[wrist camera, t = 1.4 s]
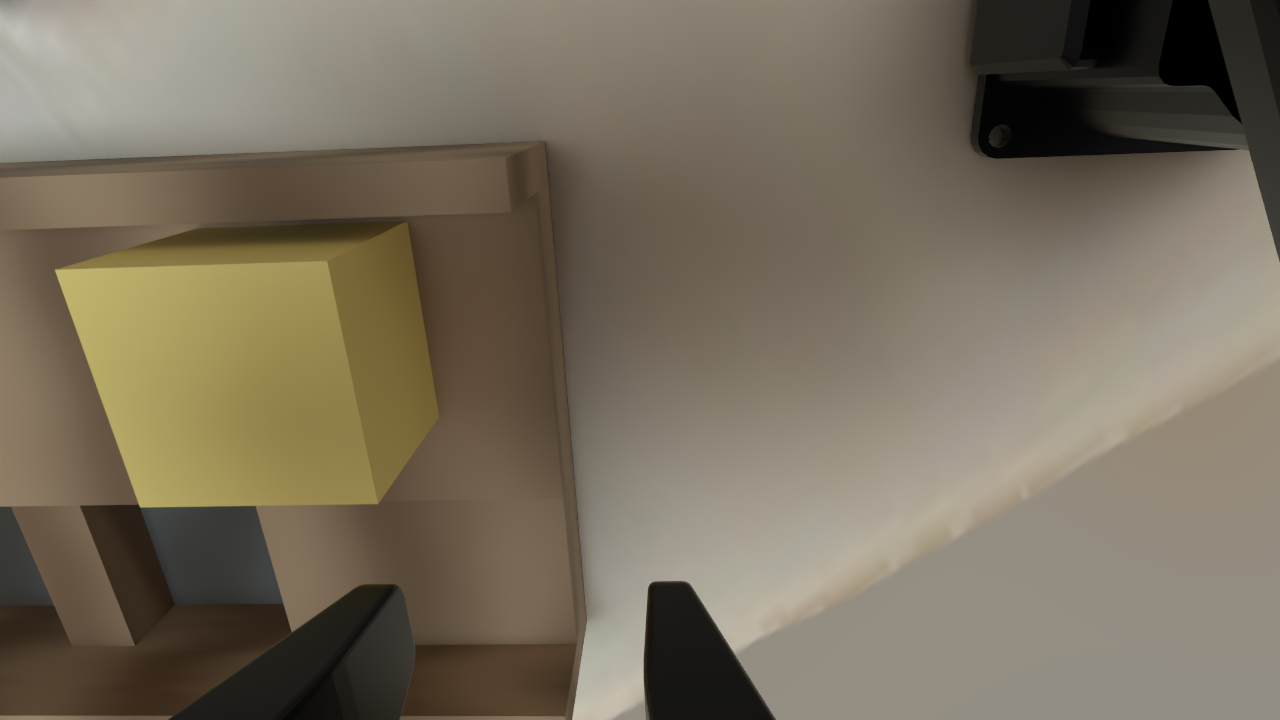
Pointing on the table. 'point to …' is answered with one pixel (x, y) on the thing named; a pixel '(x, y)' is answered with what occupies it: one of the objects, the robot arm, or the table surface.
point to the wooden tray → (293, 534)
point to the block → (259, 362)
